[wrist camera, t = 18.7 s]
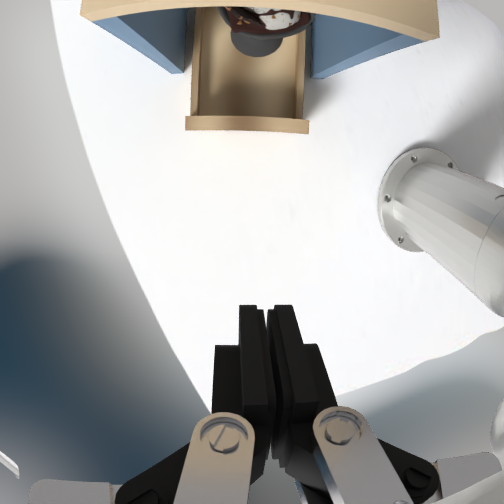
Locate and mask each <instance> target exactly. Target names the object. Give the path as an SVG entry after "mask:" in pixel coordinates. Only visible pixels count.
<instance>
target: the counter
mask: <svg viewBox="0 0 504 504" xmlns="http://www.w3.org/2000/svg"><path fill="white" fill-rule="evenodd" d="M210 6H239V7H262V8H275V9H286V10H295V11H303V12H310V13H316V15H315V18H314V20H313V21H312V44H311V76H310V78H318V79H323V78H326V77H328V76H330V75H333V74H335V73H338V72H340V71H343V70H345V69H347V68H350V67H353V66H355V65H358V64H360V63H363V62H366V61H368V60H371V59H374V58H376V57H379V56H382V55H385V54H388V53H391V52H394V51H397V50H400V49H403V48H406V47H409V46H412V45H415V44H419V43H422V42H426V41H429V40H433V39H436V38H440V36H439V21H438V10H437V0H82V4H81V10H80V15H81V16H82V17H84V18H86V19H88V20H89V21H91V22H93V23H94V24H96V25H98V26H100V27H101V28H103V29H104V30H106V31H108V32H109V33H111V34H113V35H114V36H116V37H117V38H119V39H121V40H122V41H124V42H125V43H127V44H128V45H130V46H131V47H133V48H135V49H136V50H138V51H139V52H141V53H142V54H144V55H145V56H147V57H148V58H150V59H151V60H152V61H154V62H155V63H157V64H158V65H160V66H161V67H163V68H164V69H165V70H167V71H168V72H170V73H171V74H176V73H184V54H185V38H186V24H187V12H188V7H210Z"/></svg>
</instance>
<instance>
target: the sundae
mask: <svg viewBox="0 0 504 504" xmlns="http://www.w3.org/2000/svg"><path fill="white" fill-rule="evenodd" d="M217 9H218V11H219V13H220V15H221V17H222V18H223V20H224V21H225V23H226V24H227V25H228V26H229V27H230V28H231V32H230V33H231V41H232V43H233V45H234V46H235V48H236V49H237V50H238V51H240V52H241V53H243V54H244V55H247V56H251V57H265V56H268V55H270V54H272V53H274V52H275V51H276V50H277V49H278V48H279V47H280V46H281V43H282V40H283V38H285V37H289V36H292V35H295V34H298V33H300V32H302V31H303V30H305V29H306V28H307V27H308V26H309V25H310V24H311V23H312V21H313V20H314V18H315V15H316V13H310V12H303V11H295V10H286V9H275V8H262V7H239V6H217Z"/></svg>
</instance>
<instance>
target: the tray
mask: <svg viewBox="0 0 504 504" xmlns="http://www.w3.org/2000/svg"><path fill="white" fill-rule="evenodd" d="M230 32H231V28H230V27H229V26H228V25H227V24H226V23H225V21H224V20H223V18H222V17H221V15H220V13H219V11H218V9H217V6H210V7H196V13H195V26H194V41H193V59H192V80H191V112H190V116H186V121H185V130H244V131H270V132H287V133H301V134H309V120H303V119H302V115H303V95H304V71H305V38H306V29H305V30H303V31H302V32H300V33H298V34H295V35H292V36H289V37H285V38H283V40H282V43H281V46H280V47H279V48H278V49H277V50H276V51H275V52H274V53H272V54H270V55H268V56H265V57H251V56H247V55H244V54H243V53H241V52H240V51H238V50H237V49H236V48H235V46H234V45H233V43H232V41H231V33H230Z"/></svg>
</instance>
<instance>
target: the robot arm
mask: <svg viewBox="0 0 504 504" xmlns="http://www.w3.org/2000/svg"><path fill="white" fill-rule="evenodd" d="M411 157H412V159H411ZM385 196H386V198H385ZM378 215H379V220H380V223H381V226H382V228H383V230H384V232H385V233H386V235H387V236H388V237H389V239H390V240H391V241H392V242H393V243H395V244H396V245H397V246H398V247H400V248H402V249H404V250H407V251H411V252H423V251H425V252H426V253H427V254H429V255H430V256H431V257H432V258H433V259H435V260H436V261H437V262H438V263H439V264H440V265H442V266H443V267H444V268H445V269H446V270H447V271H449V272H450V273H451V274H452V275H453V276H454V277H455V278H456V279H458V280H459V281H460V282H461V283H462V284H463V285H464V286H465V287H466V288H467V289H469V290H470V291H471V292H472V293H473V294H474V295H475V296H476V297H477V298H478V299H479V300H480V301H481V302H483V303H484V304H485V305H486V306H487V307H488V308H489V309H490V310H491V311H493V312H494V313H495V314H497V315H499V316H501V317H504V188H502V187H500V186H497V185H495V184H492V183H490V182H487V181H485V180H482V179H480V178H477V177H474V176H471V175H469V174H466V173H463V172H460V171H459V169H458V167H457V166H456V164H455V162H454V161H453V160H452V159H451V158H450V157H449V156H447V155H446V154H444V153H443V152H441V151H438V150H435V149H431V148H416V149H413V150H410V151H408V152H406V153H404V154H402V155H401V156H400V157H399V158H398V159H396V160H395V161H394V162H393V164H392V165H391V166H390V167H389V169H388V170H387V172H386V174H385V176H384V178H383V180H382V183H381V186H380V189H379V195H378ZM270 443H271V452H272V458H273V459H279V464H280V468H283V467H285V472H286V473H287V474H289V475H290V476H292V477H293V478H294V479H295V485H296V487H297V490H298V493H299V496H300V499H301V502H302V504H504V470H502V468H503V469H504V399H503V400H502V402H501V403H500V405H499V407H498V409H497V411H496V414H495V416H494V418H493V422H492V425H491V431H490V443H491V448H492V451H493V454H491V453H489V452H482V453H477V454H471V455H466V456H460V457H453V458H446V459H439V460H436V461H435V462H434V463H430V462H428V461H426V460H424V459H422V458H420V457H417V456H415V455H413V454H410V453H408V452H406V451H404V450H401V449H399V448H397V447H395V446H393V445H391V444H388V443H386V442H384V441H382V440H380V439H378V438H376V436H375V434H374V432H373V431H372V429H371V427H370V425H369V424H368V422H367V420H366V419H365V418H364V417H363V415H362V414H360V413H359V412H357V411H356V410H354V409H351V408H349V407H342V406H338V405H337V402H336V399H335V395H334V392H333V389H332V386H331V383H330V380H329V377H328V374H327V371H326V368H325V365H324V362H323V359H322V356H321V353H320V350H319V347H318V345H317V344H316V343H315V344H303V340H302V337H301V334H300V330H299V327H298V323H297V320H296V316H295V313H294V309H293V306H292V305H275V306H274V309H268V313H267V326H266V324H265V318H264V311H263V309H257V305H239V345H215V356H214V374H213V393H212V414H210V415H208V416H206V417H204V418H203V419H201V420H200V421H199V423H197V425H196V427H195V429H194V431H193V435H192V438H191V442H189V443H188V444H187V445H185V446H184V447H182V448H181V449H179V450H178V451H176V452H175V453H173V454H172V455H170V456H168V457H167V458H165V459H164V460H162V461H161V462H159V463H157V464H156V465H155V466H153V467H151V468H149V469H148V470H146V471H144V472H143V473H141V474H139V475H138V476H136V477H134V478H132V479H131V480H129V481H127V482H126V483H125V484H123V485H111V484H110V483H102V482H77V481H76V482H75V481H63V480H53V479H52V480H51V479H43V480H39V481H37V482H35V483H34V485H33V486H32V487H31V489H30V492H29V500H28V502H29V503H28V504H248V500H249V491H250V485H251V484H252V483H254V482H255V481H256V480H257V479H258V478H259V477H260V476H261V475H263V471H264V466H265V460H267V459H268V454H269V449H270Z"/></svg>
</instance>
